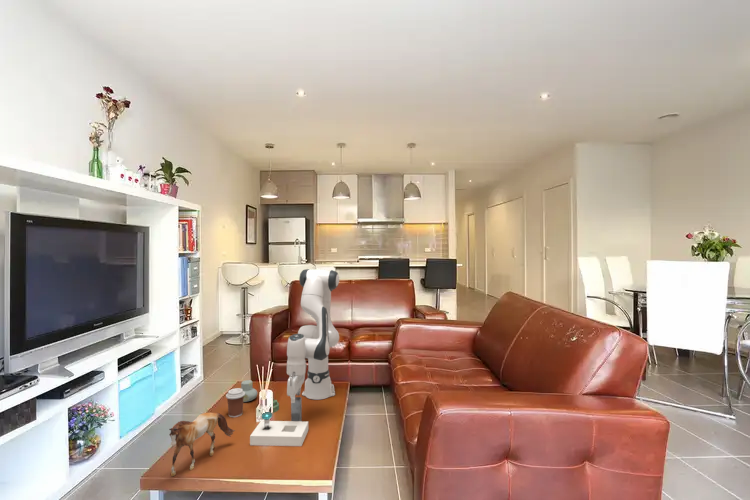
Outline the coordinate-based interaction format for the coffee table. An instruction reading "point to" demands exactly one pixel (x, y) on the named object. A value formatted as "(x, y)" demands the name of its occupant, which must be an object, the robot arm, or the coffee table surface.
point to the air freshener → (248, 390)
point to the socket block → (280, 433)
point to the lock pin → (266, 419)
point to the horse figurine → (196, 433)
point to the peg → (296, 410)
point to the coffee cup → (235, 402)
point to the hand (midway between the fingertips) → (295, 398)
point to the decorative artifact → (275, 406)
